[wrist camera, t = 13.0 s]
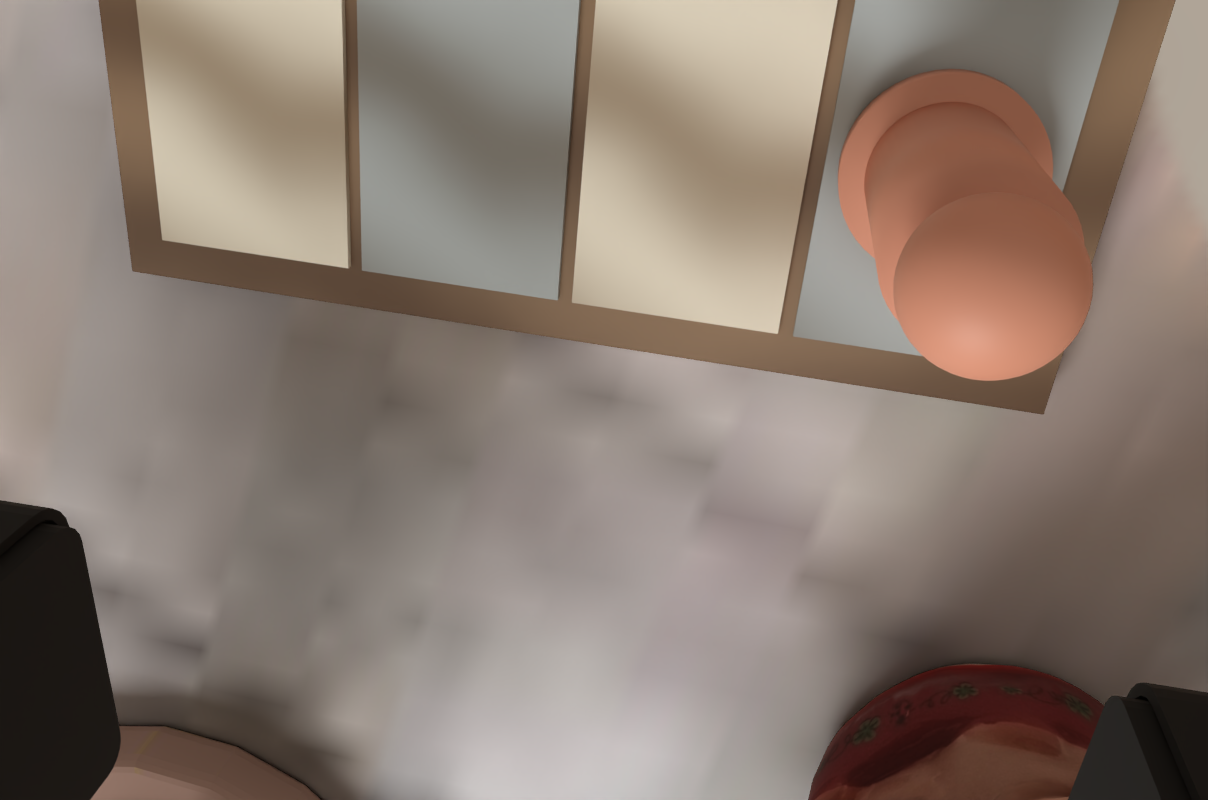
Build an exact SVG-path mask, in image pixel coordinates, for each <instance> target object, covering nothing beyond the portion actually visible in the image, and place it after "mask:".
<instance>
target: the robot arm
mask: <svg viewBox="0 0 1208 800" xmlns="http://www.w3.org/2000/svg"><path fill="white" fill-rule="evenodd" d="M120 744H121V734H120V728H119V723H118V718H117V713H116V708H115V703H114V698H113V693H112V688H111V683H110V678H109V673H108V668H107V663H106V658H105V653H104V648H103V643H102V638H101V633H100V628H99V623H98V618H97V613H96V608H95V603H94V598H93V593H92V588H91V583H90V578H89V573H88V568H87V563H86V558H85V553H84V548H83V543H82V540H81V537H80V534H79V533H78V532H77V531H76V530H75V529H73V528H70V527H69V525H68V522H67V520H66V518H65V517H64V515H63V514H62V513H61V512H60V511H57V510H54V509H51V508H45V507H39V506H32V505H26V504H20V503H14V502H7V501H1V500H0V800H90V799H91V798H92V797H93V795H94V794H95V793H96V792H97V790H98V789H99V788H100V786H101V785H102V784H103V782H104V781H105V780H106V778H107V777H108V776H109V774H110V772H111V771H112V769H113V767H114V765H115V763H116V760H117V758H118V754H119V751H120ZM1068 800H1208V693H1206V692H1200V691H1193V690H1187V689H1181V688H1174V687H1168V686H1162V685H1156V684H1149V683H1137V684H1136V685H1135V686H1134V687H1133V688H1132V689H1131V690H1130V692H1129V694H1128V696H1127V698H1126V697H1120V696H1112V697H1111V698H1109V699H1108V700H1107V702H1106V704H1105V706H1104V708H1103V710H1102V713H1101V715H1100V718H1099V720H1098V723H1097V726H1096V728H1095V731H1094V733H1093V736H1092V739H1091V741H1090V744H1089V746H1088V749H1087V751H1086V754H1085V757H1084V759H1083V762H1082V764H1081V767H1080V769H1079V772H1078V775H1077V777H1076V780H1075V782H1074V785H1073V787H1072V790H1071V793H1070V795H1069V798H1068Z"/></svg>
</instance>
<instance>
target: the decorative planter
mask: <svg viewBox="0 0 1208 800" xmlns="http://www.w3.org/2000/svg"><path fill="white" fill-rule="evenodd" d="M1103 708H1104V705H1103V704H1101V703H1100V702H1099V701H1097V700H1096V699H1094V698H1093V697H1091V696H1090V695H1088V694H1087V693H1085V692H1084V691H1082V690H1081V689H1079V688H1077V687H1075V686H1073V685H1071V684H1069V683H1067V682H1065V681H1063V680H1061V679H1059V678H1057V677H1054V676H1051V675H1049V674H1046V673H1042V672H1039V671H1035V670H1031V669H1027V668H1022V667H1017V666H1009V665H990V664H959V665H950V666H945V667H940V668H936V669H933V670H929V671H927V672H924V673H921V674H918V675H916V676H914V677H911V678H909V679H907V680H905V681H903V682H901V683H899V684H897V685H895V686H894V687H892V688H890V689H888V690H886V691H885V692H883V693H881V694H880V695H878V696H877V697H875V698H874V699H873V700H872V701H871V702H869V703H868V704H867V705H866V706H865V707H864V708H862V709H861V710H860V711H859V712H858V713H856V714H855V715H854V716H853V717H852V718H851V719H850V720H849V721H848V722H847V723H846V724H845V725H844V726H843V727H842V728H841V729H840V730H839V731H838V732H837V734H836V735H835V737H834V738H833V740H832V741H831V743H830V744H829V746H828V748H827V750H826V752H825V754H824V756H823V758H822V761H821V763H820V765H819V767H818V769H817V772H816V774H815V776H814V779H813V782H812V786H811V790H810V794H809V799H808V800H1068V798H1069V795H1070V793H1071V790H1072V787H1073V785H1074V782H1075V780H1076V777H1077V775H1078V772H1079V769H1080V767H1081V764H1082V762H1083V759H1084V757H1085V754H1086V751H1087V749H1088V746H1089V744H1090V741H1091V739H1092V736H1093V733H1094V731H1095V728H1096V726H1097V723H1098V720H1099V718H1100V715H1101V713H1102V710H1103Z"/></svg>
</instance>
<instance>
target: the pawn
mask: <svg viewBox="0 0 1208 800" xmlns="http://www.w3.org/2000/svg"><path fill="white" fill-rule="evenodd" d="M1052 177H1053V156H1052V150H1051V145H1050V140H1049V138H1048V135H1047V132H1046V130H1045V127H1044V126H1043V124H1042V122H1041V120H1040V118H1039V117H1038V115H1037V114H1036V113H1035V111H1034V110H1033V109H1032V108H1031V106H1030V105H1029V104H1028V103H1027V102H1026V101H1025V100H1024V99H1023V98H1022V97H1021V96H1020V95H1019V94H1018V93H1017V92H1016V91H1014V90H1013V89H1012V88H1010V87H1009V86H1007V85H1006V84H1005V83H1003V82H1001V81H999V80H997V79H995V78H993V77H991V76H988V75H985V74H982V73H979V72H975V71H970V70H965V69H940V70H933V71H928V72H923V73H920V74H917V75H914V76H911V77H908V78H906V79H904V80H902V81H900V82H898V83H896V84H894V85H893V86H891V87H889V88H888V89H886V90H885V91H883V92H882V93H881V94H880V95H878V96H877V97H876V98H875V99H874V100H872V101H871V102H870V104H869V105H868V106H867V107H866V108H865V109H864V110H863V111H862V112H861V114H860V115H859V116H858V118H857V119H856V121H855V122H854V124H853V125H852V127H851V129H850V131H849V133H848V134H847V137H846V139H845V142H844V144H843V147H842V151H841V155H840V159H839V166H838V193H839V200H840V206H841V209H842V213H843V216H844V219H845V221H846V223H847V226H848V228H849V230H850V231H851V233H852V234H853V236H854V238H855V239H856V240H857V242H858V243H859V244H860V245H861V246H862V247H863V249H864V250H865V251H867V252H868V253H869V254H870V255H871V256H872V257H873V258H875V262H876V268H877V274H878V281H879V285H880V289H881V292H882V295H883V298H884V300H885V302H886V304H887V306H888V308H889V309H890V311H891V312H892V314H893V316H894V317H895V318H896V319H897V320H898V321H899V323H900V325H901V327H902V329H903V332H904V333H905V335H906V337H907V338H908V340H909V341H910V343H911V344H912V345H913V346H914V347H915V348H916V349H917V351H918V352H919V353H920V354H921V355H922V356H924V357H925V358H926V359H927V360H928V361H930V362H931V363H933V364H934V365H936V366H937V367H939V368H941V369H943V370H945V371H947V372H949V373H951V374H954V375H957V376H960V377H963V378H968V379H973V380H983V381H996V380H1004V379H1010V378H1014V377H1019V376H1022V375H1025V374H1027V373H1030V372H1033V371H1035V370H1037V369H1039V368H1041V367H1043V366H1044V365H1046V364H1047V363H1049V362H1050V361H1052V360H1053V359H1055V358H1056V357H1057V356H1058V355H1059V354H1061V353H1062V352H1063V351H1064V350H1065V349H1066V348H1067V347H1068V346H1069V345H1070V344H1071V342H1072V341H1073V340H1074V338H1075V337H1076V336H1077V334H1078V333H1079V331H1080V329H1081V327H1082V326H1083V324H1084V321H1085V319H1086V316H1087V314H1088V311H1089V308H1090V304H1091V300H1092V293H1093V273H1092V266H1091V261H1090V257H1089V255H1088V252H1087V250H1086V247H1085V245H1084V236H1083V231H1082V226H1081V223H1080V221H1079V218H1078V215H1077V213H1076V211H1075V210H1074V208H1073V206H1072V204H1071V203H1070V201H1069V200H1068V199H1067V198H1066V196H1065V195H1064V194H1063V193H1062V191H1061V190H1060V189H1059V188H1058V186H1057V185H1056V184H1055V183H1054V182H1053V180H1052Z"/></svg>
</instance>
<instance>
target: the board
mask: <svg viewBox="0 0 1208 800" xmlns="http://www.w3.org/2000/svg"><path fill="white" fill-rule="evenodd" d="M1174 4H1175V0H99V7H100V15H101V23H102V31H103V39H104V47H105V55H106V63H107V71H108V79H109V87H110V95H111V103H112V111H113V119H114V127H115V135H116V143H117V151H118V159H119V167H120V175H121V183H122V191H123V199H124V207H125V215H126V223H127V231H128V239H129V247H130V255H131V263H132V271H134V272H140V273H147V274H153V275H159V276H166V277H172V278H179V279H185V280H191V281H198V282H204V283H210V284H217V285H223V286H229V287H236V288H242V289H249V290H255V291H261V292H268V293H274V294H280V295H287V296H293V297H299V298H306V299H312V300H319V301H325V302H331V303H338V304H344V305H350V306H357V307H363V308H369V309H376V310H382V311H388V312H395V313H401V314H408V315H414V316H420V317H427V318H433V319H439V320H446V321H452V322H458V323H465V324H471V325H478V326H484V327H490V328H497V329H503V330H509V331H516V332H522V333H528V334H535V335H541V336H547V337H554V338H560V339H567V340H573V341H579V342H586V343H592V344H598V345H605V346H611V347H617V348H624V349H630V350H637V351H643V352H649V353H656V354H662V355H668V356H675V357H681V358H687V359H694V360H700V361H706V362H713V363H719V364H726V365H732V366H738V367H745V368H751V369H757V370H764V371H770V372H776V373H783V374H789V375H796V376H802V377H808V378H815V379H821V380H827V381H834V382H840V383H846V384H853V385H859V386H865V387H872V388H878V389H885V390H891V391H897V392H904V393H910V394H916V395H923V396H929V397H935V398H942V399H948V400H955V401H961V402H967V403H974V404H980V405H986V406H993V407H999V408H1005V409H1012V410H1018V411H1024V412H1031V413H1037V414H1044V411H1045V408H1046V405H1047V402H1048V399H1049V396H1050V392H1051V389H1052V386H1053V383H1054V380H1055V377H1056V374H1057V370H1058V367H1059V364H1060V361H1061V358H1062V355H1063V352H1064V351H1063V352H1062V353H1061V354H1059V355H1058V356H1057V357H1056V358H1055V359H1053V360H1052V361H1050V362H1049V363H1047V364H1046V365H1044V366H1043V367H1041V368H1039V369H1037V370H1035V371H1033V372H1030V373H1027V374H1025V375H1022V376H1019V377H1014V378H1010V379H1004V380H996V381H983V380H973V379H968V378H963V377H960V376H957V375H954V374H951V373H949V372H947V371H945V370H943V369H941V368H939V367H937V366H936V365H934V364H933V363H931V362H930V361H928V360H927V359H926V358H925V357H924V356H922V355H921V354H920V353H919V352H918V351H917V349H916V348H915V347H914V346H913V345H912V344H911V343H910V341H909V340H908V338H907V337H906V335H905V333H904V332H903V329H902V327H901V325H900V323H899V321H898V320H897V319H896V318H895V317H894V316H893V314H892V312H891V311H890V309H889V308H888V306H887V304H886V302H885V300H884V298H883V295H882V292H881V289H880V285H879V281H878V274H877V268H876V262H875V258H873V257H872V256H871V255H870V254H869V253H868V252H867V251H865V250H864V249H863V247H862V246H861V245H860V244H859V243H858V242H857V240H856V239H855V238H854V236H853V234H852V233H851V231H850V230H849V228H848V226H847V223H846V221H845V219H844V216H843V213H842V209H841V206H840V200H839V193H838V166H839V159H840V155H841V151H842V147H843V144H844V142H845V139H846V137H847V134H848V133H849V131H850V129H851V127H852V125H853V124H854V122H855V121H856V119H857V118H858V116H859V115H860V114H861V112H862V111H863V110H864V109H865V108H866V107H867V106H868V105H869V104H870V102H871V101H872V100H874V99H875V98H876V97H877V96H878V95H880V94H881V93H882V92H883V91H885V90H886V89H888V88H889V87H891V86H893V85H894V84H896V83H898V82H900V81H902V80H904V79H906V78H908V77H911V76H914V75H917V74H920V73H923V72H928V71H933V70H940V69H965V70H970V71H975V72H979V73H982V74H985V75H988V76H991V77H993V78H995V79H997V80H999V81H1001V82H1003V83H1005V84H1006V85H1007V86H1009V87H1010V88H1012V89H1013V90H1014V91H1016V92H1017V93H1018V94H1019V95H1020V96H1021V97H1022V98H1023V99H1024V100H1025V101H1026V102H1027V103H1028V104H1029V105H1030V106H1031V108H1032V109H1033V110H1034V111H1035V113H1036V114H1037V115H1038V117H1039V118H1040V120H1041V122H1042V124H1043V126H1044V127H1045V130H1046V132H1047V135H1048V138H1049V140H1050V145H1051V150H1052V156H1053V177H1052V180H1053V182H1054V183H1055V184H1056V185H1057V186H1058V188H1059V189H1060V190H1061V191H1062V193H1063V194H1064V195H1065V196H1066V198H1067V199H1068V200H1069V201H1070V203H1071V204H1072V206H1073V208H1074V210H1075V211H1076V213H1077V215H1078V218H1079V221H1080V223H1081V226H1082V231H1083V236H1084V245H1085V247H1086V250H1087V252H1088V255H1089V257H1090V261H1091V264H1092V261H1093V258H1094V254H1095V251H1096V248H1097V245H1098V242H1099V239H1100V236H1101V233H1102V229H1103V226H1104V223H1105V220H1106V217H1107V214H1108V211H1109V207H1110V204H1111V201H1112V198H1113V195H1114V192H1115V189H1116V185H1117V182H1118V179H1119V176H1120V173H1121V170H1122V167H1123V164H1124V160H1125V157H1126V154H1127V151H1128V148H1129V145H1130V142H1131V138H1132V135H1133V132H1134V129H1135V126H1136V123H1137V120H1138V117H1139V113H1140V110H1141V107H1142V104H1143V101H1144V98H1145V95H1146V91H1147V88H1148V85H1149V82H1150V79H1151V76H1152V73H1153V69H1154V66H1155V63H1156V60H1157V57H1158V54H1159V51H1160V48H1161V44H1162V41H1163V38H1164V35H1165V32H1166V28H1167V26H1168V22H1169V19H1170V16H1171V13H1172V10H1173V7H1174Z"/></svg>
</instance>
